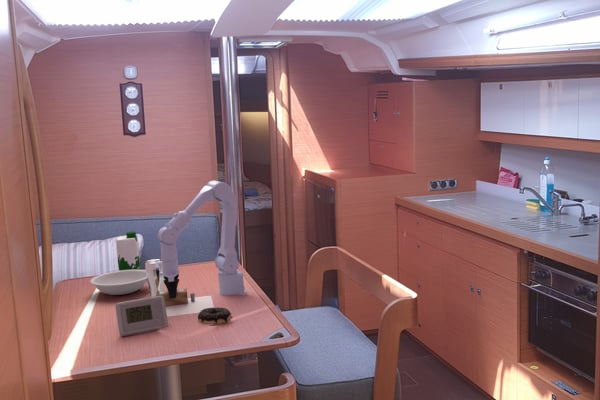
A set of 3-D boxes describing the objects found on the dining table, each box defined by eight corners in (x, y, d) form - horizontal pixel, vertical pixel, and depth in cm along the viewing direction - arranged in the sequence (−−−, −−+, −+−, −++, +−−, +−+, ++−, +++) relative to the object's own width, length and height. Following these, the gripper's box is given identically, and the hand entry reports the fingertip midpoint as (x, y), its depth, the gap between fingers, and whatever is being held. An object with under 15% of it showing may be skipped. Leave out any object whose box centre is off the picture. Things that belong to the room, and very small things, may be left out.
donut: (204, 329, 225) (203, 317, 224) (194, 320, 235) (193, 308, 235) (236, 323, 229) (235, 311, 229) (224, 313, 240) (223, 302, 239)
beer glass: (162, 302, 259) (158, 263, 257) (145, 302, 260) (141, 263, 258) (169, 296, 266) (166, 258, 263) (152, 296, 267) (149, 259, 265)
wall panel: (211, 298, 260) (210, 287, 259) (215, 313, 240) (214, 302, 240) (152, 305, 256) (151, 294, 255) (151, 321, 236) (150, 310, 236)
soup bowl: (149, 281, 291) (148, 266, 290) (156, 295, 268) (154, 279, 267) (90, 290, 284) (89, 274, 283) (92, 305, 261) (90, 288, 260)
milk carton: (139, 279, 296) (135, 233, 293) (118, 281, 295) (113, 235, 292) (142, 274, 304) (137, 230, 302) (121, 276, 304) (116, 232, 301)
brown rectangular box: (187, 300, 256) (186, 288, 255) (188, 303, 251) (186, 291, 250) (157, 303, 254) (156, 291, 253) (157, 307, 249) (156, 295, 248)
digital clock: (117, 338, 221) (114, 306, 220) (119, 329, 230) (116, 298, 228) (168, 331, 224) (165, 300, 223) (168, 323, 233) (165, 293, 231)
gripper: (158, 256, 256) (161, 292, 258) (158, 265, 242) (161, 302, 244) (177, 254, 257) (180, 289, 259) (178, 263, 243) (181, 300, 245)
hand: (173, 296), depth 252 cm, fingers closed on brown rectangular box, 5 cm apart
